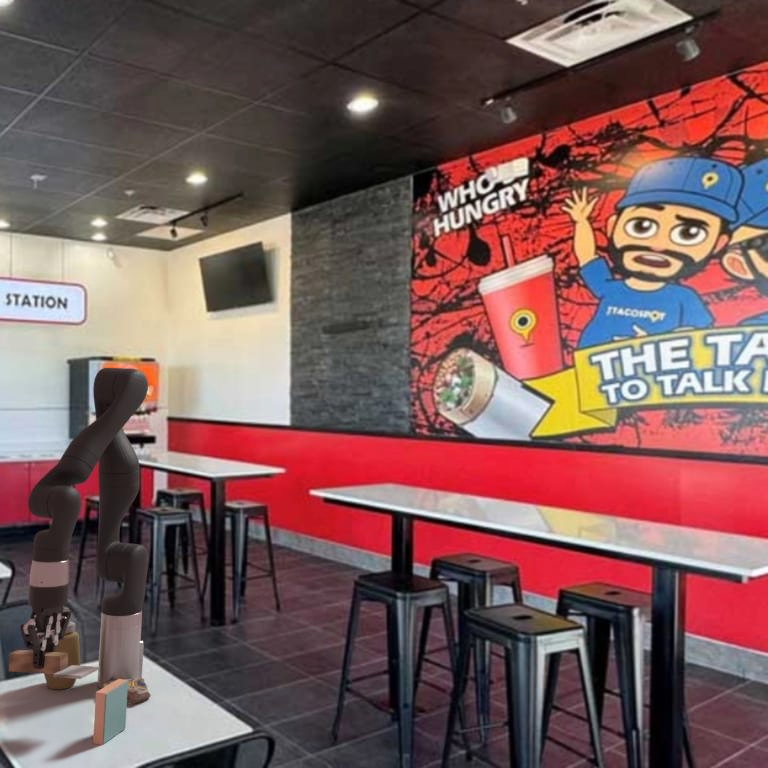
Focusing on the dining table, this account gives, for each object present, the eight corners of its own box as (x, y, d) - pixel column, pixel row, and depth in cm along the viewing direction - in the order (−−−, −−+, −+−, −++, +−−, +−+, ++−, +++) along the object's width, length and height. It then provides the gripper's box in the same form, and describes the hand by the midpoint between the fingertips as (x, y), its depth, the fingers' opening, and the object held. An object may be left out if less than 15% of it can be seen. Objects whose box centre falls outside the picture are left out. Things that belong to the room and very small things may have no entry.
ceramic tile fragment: (92, 687, 173) (112, 672, 182) (91, 702, 172) (111, 686, 182) (144, 693, 171) (161, 677, 181) (143, 708, 171) (160, 691, 181)
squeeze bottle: (43, 681, 183) (47, 604, 184) (79, 678, 186) (84, 603, 187) (41, 693, 176) (45, 613, 176) (79, 690, 179) (83, 612, 179)
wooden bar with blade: (3, 673, 158) (3, 655, 158) (23, 664, 164) (23, 647, 164) (80, 678, 154) (80, 660, 154) (98, 669, 160) (98, 652, 160)
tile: (93, 743, 152) (95, 692, 152) (116, 727, 160) (118, 678, 160) (103, 745, 151) (106, 693, 152) (125, 729, 159) (128, 680, 159)
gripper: (43, 590, 153) (36, 678, 152) (85, 576, 166) (80, 658, 165) (10, 586, 154) (4, 674, 153) (55, 573, 168) (49, 654, 167)
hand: (43, 665), depth 159 cm, fingers closed on wooden bar with blade, 2 cm apart
